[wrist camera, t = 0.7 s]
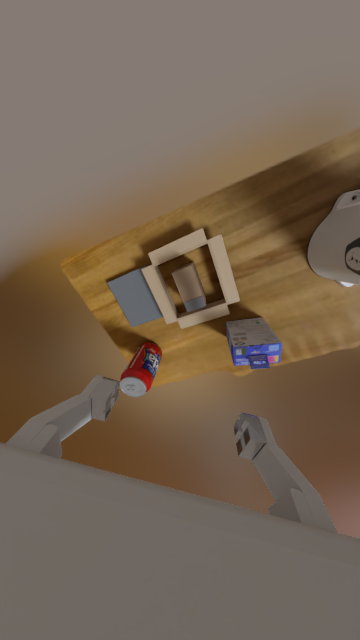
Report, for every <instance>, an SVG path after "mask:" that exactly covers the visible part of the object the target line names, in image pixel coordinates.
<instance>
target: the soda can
mask: <svg viewBox="0 0 360 640" xmlns="http://www.w3.org/2000/svg"><path fill="white" fill-rule="evenodd" d="M161 358H162V351H161V349H160V348H159V347H158V346H157V345H156V344H154V343H150V342H146V343H143V344H141V345H140V346H139V348H138V349H137V351H136V353H135V354H134V356H133V357H132V359H131V361H130V362H129V364H128V365H127V367H126V369H125V370H124V372H123V374H122V375H121V383H120V387H121V389H122V391H123V392H124V393H125V394H127V395H129V396H131V397H141V396H143V395H144V394H145V393H146V392H147V391H148V390H149V389H150V388H151V385H152V382H153V380H154V377H155V374H156V371H157V369H158V366H159V363H160V360H161Z"/></svg>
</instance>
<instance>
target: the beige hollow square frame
mask: <svg viewBox="0 0 360 640" xmlns="http://www.w3.org/2000/svg"><path fill="white" fill-rule="evenodd" d="M205 244H208V247H209V250H210V254H211V257H212V260H213V263H214V266H215V269H216V273H217V276H218V279H219V282H220V285H221V289H222V292H223V295H224V299H221V300H218V301H215V302H212V303H209V304H206V306H205V307H202V308H199V309H196V310H193V311H190V312H187V311H186V312H183V313H180V314H179V313H178V311H177V309H176V306H175V304H174V302H173V300H172V297H171V295H170V293H169V290H168V288H167V286H166V284H165V281H164V279H163V277H162V274H161V272H160V270H159V267H158V265H159V264H161V263H164V262H166V261H168V260H171V259H173V258H175V257H178V256H180V255H182V254H184V253H187V252H189V251H191V250H194V249H196V248H198V247H200V246H203V245H205ZM148 255H149V257H150V260H151V262H152V265H150V266H148V267H145V268H143V269H141V270H142V272H143V274H144V277H145V279H146V281H147V283H148V285H149V287H150V289H151V291H152V293H153V295H154V298H155V300H156V302H157V304H158V306H159V308H160V310H161V312H162V314H163V317H164V319H165V321H166V323H167V324H170V323H173V322H176V321H178V322H179V325H180V327H181V329H183V328H186V327H189V326H192V325H196V324H199V323H202V322H206V321H209V320H212V319H215V318H219V317H222V316H225V315H228V314H230V313H229V310H228V307H227V305H229V304H232V303H235V302H238V301H240V299H239V295H238V292H237V288H236V285H235V281H234V277H233V274H232V270H231V267H230V263H229V260H228V256H227V252H226V249H225V245H224V242H223V238H222V234H220V235H218V236H216V237H213V238H211V239H209V240H207V239H206V236H205V233H204V230H203V228H202V229H199V230H197V231H195V232H193V233H191V234H189V235H186V236H184V237H182V238H180V239H178V240H176V241H174V242H171V243H169V244H167V245H165V246H163V247H161V248H159V249H156V250H154V251H152V252H150V253H148Z"/></svg>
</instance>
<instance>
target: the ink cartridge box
mask: <svg viewBox="0 0 360 640" xmlns="http://www.w3.org/2000/svg"><path fill="white" fill-rule="evenodd" d="M226 336H227V340H228V344H229V348H230V352H231V356H232V359H233V363H234V365H235V366H238V365H250V366H251V369H257V368H270V366H269V363H275V362H280V358H281V348H282V342H281V341H280V340H279V338H278V337H277V336H276V334H275V333H274V332H273V330H272V329H271V328H270V327H269V325H268V324H267V323H266V321H265V320H264V319H263V317H261V318H253V319H244V320H236V321H228V322H226ZM262 363H264V364H262ZM257 364H261V365H257Z"/></svg>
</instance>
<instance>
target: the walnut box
mask: <svg viewBox="0 0 360 640" xmlns="http://www.w3.org/2000/svg"><path fill="white" fill-rule="evenodd" d="M171 274H172V276H173V278H174V281H175V283H176V286H177V288H178V291H179V293H180V295H181V298H182V300H183V303H184V305H185V307H186V310H187V312H190V311H193V310H196V309H199V308H202V307H205V306H206V295H205V292H204V289H203V287H202V284H201V281H200V278H199V275H198V272H197V270H196V267H195V264H194V261H193V262H191V263H188V264H186V265H184V266H181V267H179V268H177V269H176V270H175V271H174V272H172V273H171Z"/></svg>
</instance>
